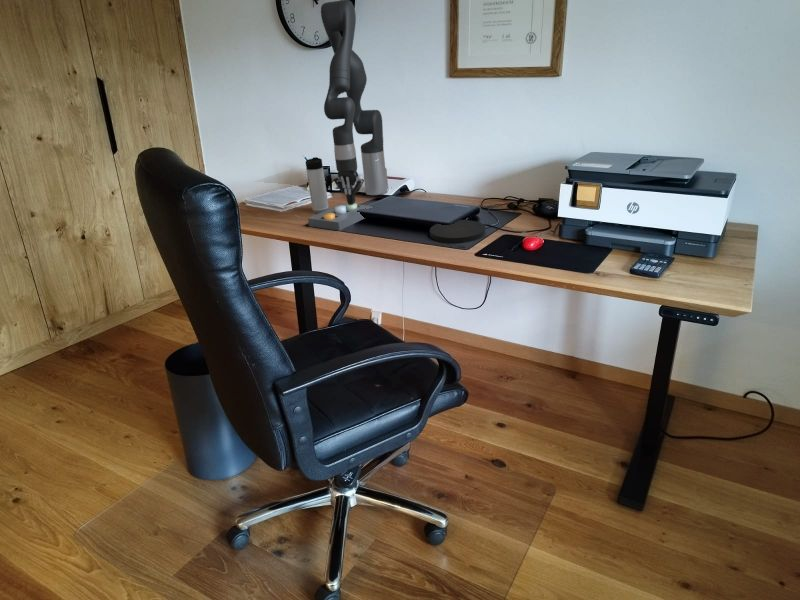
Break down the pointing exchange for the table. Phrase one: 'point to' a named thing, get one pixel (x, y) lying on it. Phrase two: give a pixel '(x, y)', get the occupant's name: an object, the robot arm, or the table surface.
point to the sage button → (351, 206)
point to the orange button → (329, 216)
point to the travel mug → (317, 185)
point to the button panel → (337, 218)
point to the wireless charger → (458, 232)
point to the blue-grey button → (340, 209)
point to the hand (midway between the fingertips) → (351, 203)
